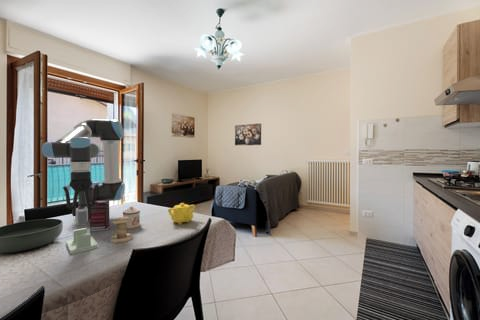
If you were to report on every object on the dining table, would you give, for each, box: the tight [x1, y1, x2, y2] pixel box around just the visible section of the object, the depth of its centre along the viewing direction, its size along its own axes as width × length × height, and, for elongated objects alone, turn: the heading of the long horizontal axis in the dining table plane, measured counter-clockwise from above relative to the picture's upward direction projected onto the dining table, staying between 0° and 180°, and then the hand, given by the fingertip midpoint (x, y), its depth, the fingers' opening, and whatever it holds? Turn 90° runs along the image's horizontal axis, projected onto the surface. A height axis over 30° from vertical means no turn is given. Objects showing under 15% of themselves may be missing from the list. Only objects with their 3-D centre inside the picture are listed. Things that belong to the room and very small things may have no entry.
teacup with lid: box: [122, 205, 141, 230], centre depth 132 cm, size 12×9×12 cm
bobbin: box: [109, 216, 134, 244], centre depth 112 cm, size 10×10×10 cm
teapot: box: [167, 202, 196, 226], centre depth 139 cm, size 14×14×12 cm
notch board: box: [66, 227, 99, 255], centre depth 103 cm, size 14×10×6 cm
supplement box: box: [89, 201, 111, 232], centre depth 125 cm, size 9×5×16 cm, turn 98°
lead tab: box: [77, 208, 88, 226], centre depth 102 cm, size 6×3×6 cm, turn 43°
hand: (81, 221), depth 103 cm, fingers closed on lead tab, 3 cm apart
